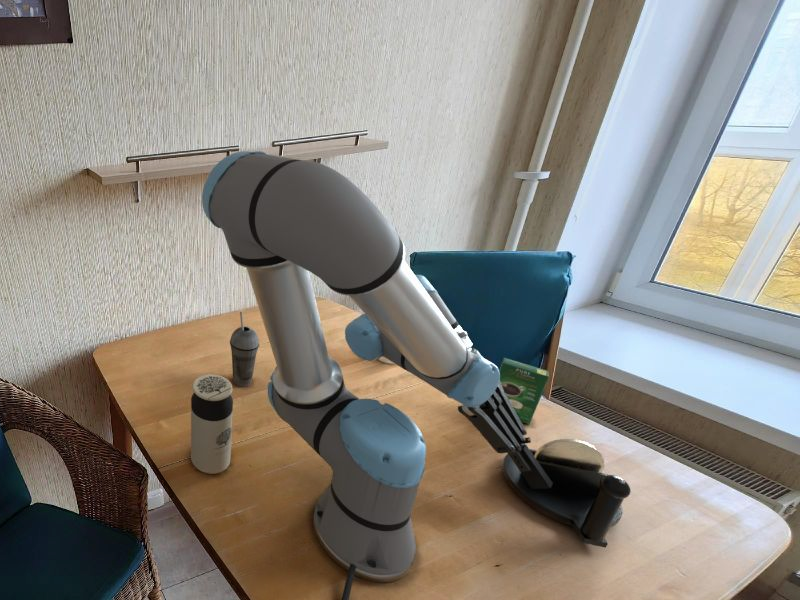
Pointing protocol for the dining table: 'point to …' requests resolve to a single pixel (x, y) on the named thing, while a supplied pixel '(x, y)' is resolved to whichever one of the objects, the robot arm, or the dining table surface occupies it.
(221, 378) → the travel mug
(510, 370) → the coffee box
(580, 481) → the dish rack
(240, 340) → the beverage cup
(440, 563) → the dining table surface
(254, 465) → the dining table surface
